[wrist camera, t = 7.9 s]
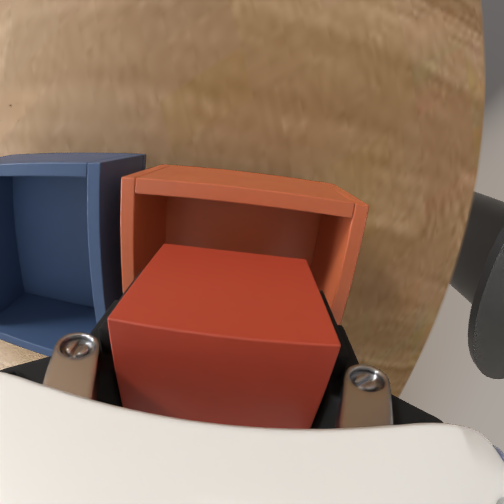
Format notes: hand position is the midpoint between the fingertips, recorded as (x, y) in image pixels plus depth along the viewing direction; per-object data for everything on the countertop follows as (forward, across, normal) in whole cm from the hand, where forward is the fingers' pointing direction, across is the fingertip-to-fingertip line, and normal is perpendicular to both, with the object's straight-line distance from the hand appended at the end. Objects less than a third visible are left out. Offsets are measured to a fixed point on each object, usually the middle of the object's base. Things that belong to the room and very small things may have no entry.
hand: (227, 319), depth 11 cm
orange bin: (+7, 0, 0) cm, 7 cm away
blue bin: (+7, +10, 0) cm, 12 cm away
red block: (0, 0, 0) cm, 0 cm away
